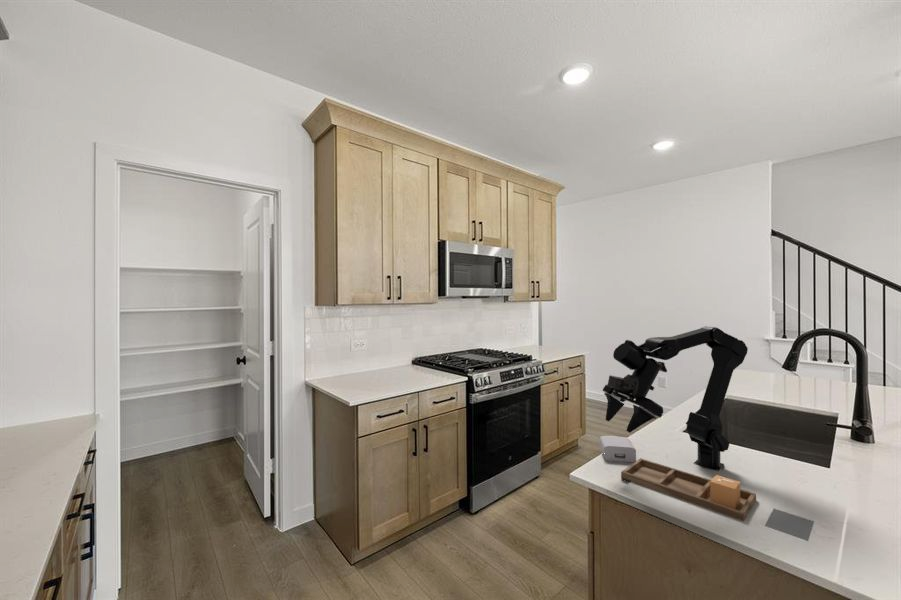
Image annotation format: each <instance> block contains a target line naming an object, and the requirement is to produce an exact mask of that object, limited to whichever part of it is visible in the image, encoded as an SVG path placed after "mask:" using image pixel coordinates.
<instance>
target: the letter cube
mask: <svg viewBox="0 0 901 600" xmlns="http://www.w3.org/2000/svg"><path fill="white" fill-rule="evenodd" d="M710 480H711V481H710V501H712V502H715V503H718V504H721V505H723V506H726V507H729V508H732V509H736V508H737V506H738V505H739V503H740V489H741V481H739V480H735V479H732V478H728V477H724V476H722V475H718V474H716V475H715V476H714V477H713V478H712V479H710Z"/></svg>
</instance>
